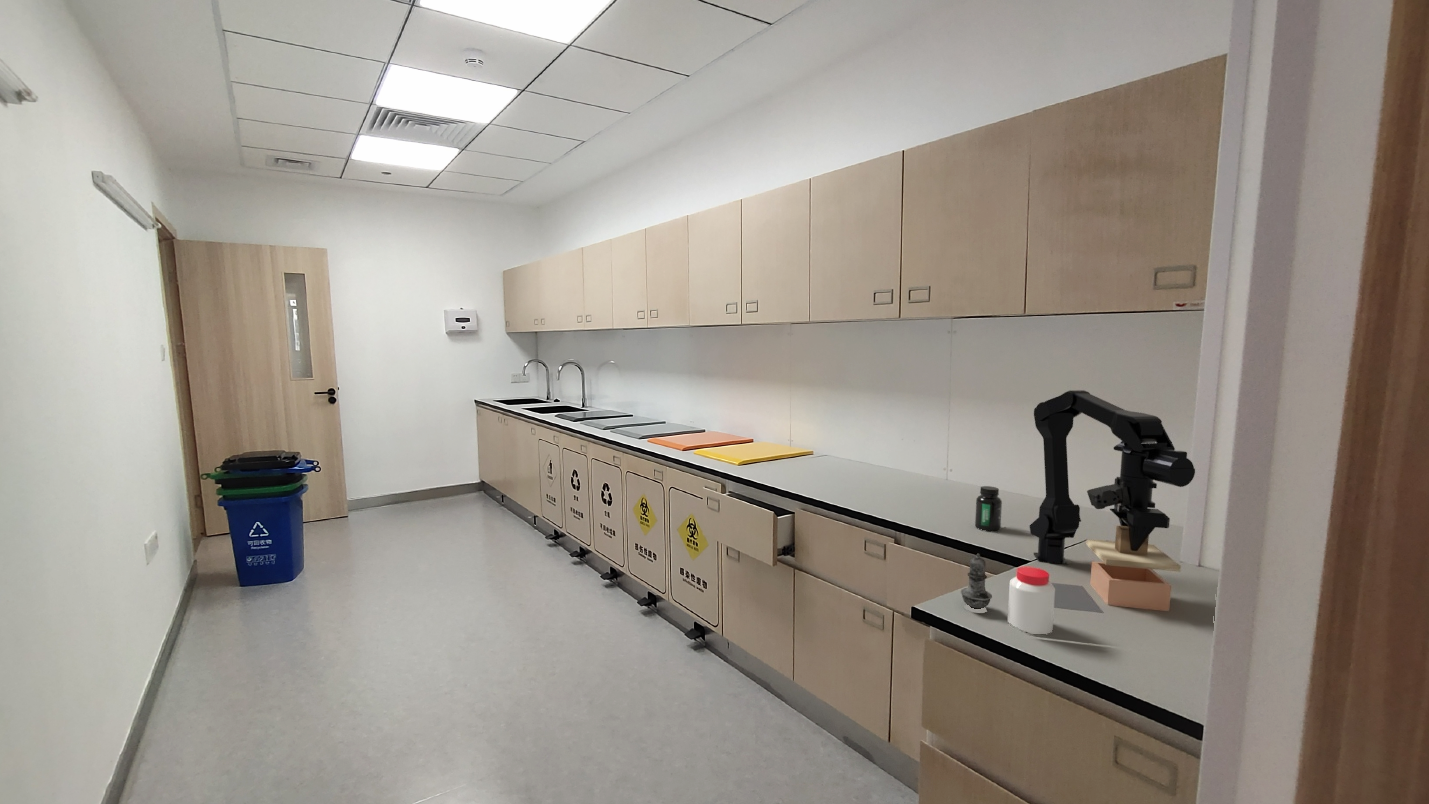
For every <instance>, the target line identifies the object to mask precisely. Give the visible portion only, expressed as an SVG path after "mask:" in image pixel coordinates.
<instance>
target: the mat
mask: <svg viewBox="0 0 1429 804" xmlns="http://www.w3.org/2000/svg"><path fill="white" fill-rule="evenodd" d="M1050 583H1051V584H1052V585H1053V586H1054V587H1055V602H1054V609H1064V610H1074V611H1083V612H1084V611H1085V612H1090V613H1091V612H1092V613H1093V612H1094V613H1101V614H1104V611H1103V610H1102V608H1100V606H1099V605H1098V603H1097V602H1096V601H1095V600H1094V598H1092V596H1091V595H1090V593H1089V592H1088V591H1087V589H1086V588H1085V587H1084V586H1083V585H1079V584H1077V585H1076V584H1067V583H1057V582H1056V583H1055V582H1050Z"/></svg>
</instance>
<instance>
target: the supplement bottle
mask: <svg viewBox="0 0 1429 804" xmlns="http://www.w3.org/2000/svg"><path fill="white" fill-rule="evenodd" d="M999 496H1000V491H999V488H998V487H996V486H990V485H984V486H980V492H979V495H978V496H977V497H976V499H975V517H974V518H975V519H974V520H975V521H974V525H975V526H974V527H975V528H976V529H978V528H979V529H978V530H980V529H982V530H981V531H983V530H986V531H985V532H991V531H994V532H999V531H1000V530H1001V525H1002V509H1003V501H1002V499H1001V498H1000V497H999ZM998 530H999V531H998Z"/></svg>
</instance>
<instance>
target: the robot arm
mask: <svg viewBox="0 0 1429 804" xmlns="http://www.w3.org/2000/svg"><path fill="white" fill-rule="evenodd" d="M1033 409H1034V410H1033V418H1034V425H1035V428H1036V430H1037V431H1038V433H1039V434H1040V435H1041V437H1042V439H1043V456H1044V457H1043V458H1044V459H1043V460H1044V461H1043V462H1044V480H1045V483H1044V484H1045V498H1044V499H1043V500H1042V502H1041V504H1040V506H1039V508H1038V510H1039V511H1038V518H1036V519H1035V520H1034V521H1033V522H1031V524H1029V530H1030V535H1032V536H1034V537H1036V538H1038V544H1037V545H1038V546H1037V552H1033V556H1034V557H1035V559H1036V560H1037V562H1038V563H1045V564H1046V563H1047V564H1054V565H1057V564H1058V565H1069V562H1068V561H1067V560H1066V558H1065V557H1064V556H1065V547H1066V546H1065V545H1066V542H1065V541H1066V539H1074V538H1075V535H1076V533H1077V529H1079V527H1080V523H1081V522H1082V519H1081V516H1080V514H1081V511H1080V510H1081V507H1080V505H1079V504H1074V502H1073V500H1072V499H1071V498H1070V487H1069V469H1068V468H1069V467H1068V448H1067V447H1068V446H1067V445H1068V444H1067V438H1068V436H1069V434H1070V433H1071V431H1072V430H1073V427H1074V418H1077V417H1078V416H1079V415H1082V414H1083V415H1085V416H1087V417H1090V418H1092V419H1093V420H1095V421H1097V422H1099V423H1101V424H1102V425H1105V426H1106V427H1108V428H1110V430H1111V433H1112V435H1113V436H1115V437H1116V438H1118V439H1119V440H1121V441H1120V442H1119V443H1118V444H1116V445H1114V446H1113V450H1114V451H1118V452H1121V459H1120V460H1121V461H1120V471H1119V476H1116V477H1115V478H1114V483H1113V484H1108V485H1102V486H1099V487H1095V488H1091V489H1088V490H1086V493H1087V495H1088V500H1089V502H1090V504H1091V506H1093V507H1094V508H1095V509H1096V510H1103V509H1106V508H1108V507H1111V506H1114V507H1113V508H1109V510H1110V511H1111V512H1112V513H1113V514H1114V515H1115V516H1116V517H1117V518H1118V521H1119V526H1128V527H1129V538H1130V547H1131V550H1132V551H1138V549H1139V548H1140V547H1141V545H1142V544H1143V542H1144V541H1145V540H1146V538H1147V537H1148V536H1150V535H1151V534H1152V532H1153V531H1154V530H1155V528H1158V529H1169V528H1170V521H1171V519H1170V517H1169V516H1168V515H1167V514H1166V513H1164V512H1163V511H1161V510H1160V509H1158V508H1156V503H1155V502H1154V501H1153V489H1157V487H1158V486H1157V485H1158V483H1157V482H1159V483H1164V484H1168V485H1171V486H1175V487H1179V488H1182V487H1183V488H1184V487H1186V486H1188V485H1189V484H1190V483H1192V481H1193V480H1194V478H1195V474H1196V468H1195V465H1194V463H1193V462H1192V460H1191V459H1189V458H1188V452H1187V451H1185V450H1176V449H1175V448H1176V447H1175V446H1174V444H1173V442H1172V440H1171V439H1170V437H1169V435H1168V433H1167V431H1166V429H1165V428H1164V426H1163V421H1162V420H1161V418H1160V417H1158V416H1157V415H1153V414H1149V413H1145V412H1137V411H1131V410H1125V409H1124V408H1121V407H1119V406H1118V405H1115V404H1112V403H1111V402H1108V401H1106V400H1104V399H1102V398H1099V397H1098V396H1096V395H1093V394H1091V393H1090V392H1089V391H1087V390H1084V389H1083V390H1082V389H1081V390H1080V389H1078V390H1076V389H1075V390H1068V391H1065V392H1064V393H1061V395H1058V396H1056V397H1052V398H1051V399H1048V400H1045V401H1042V402H1039V403H1038V404H1037V405H1036V407H1034V408H1033ZM1155 481H1156V482H1155Z"/></svg>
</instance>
